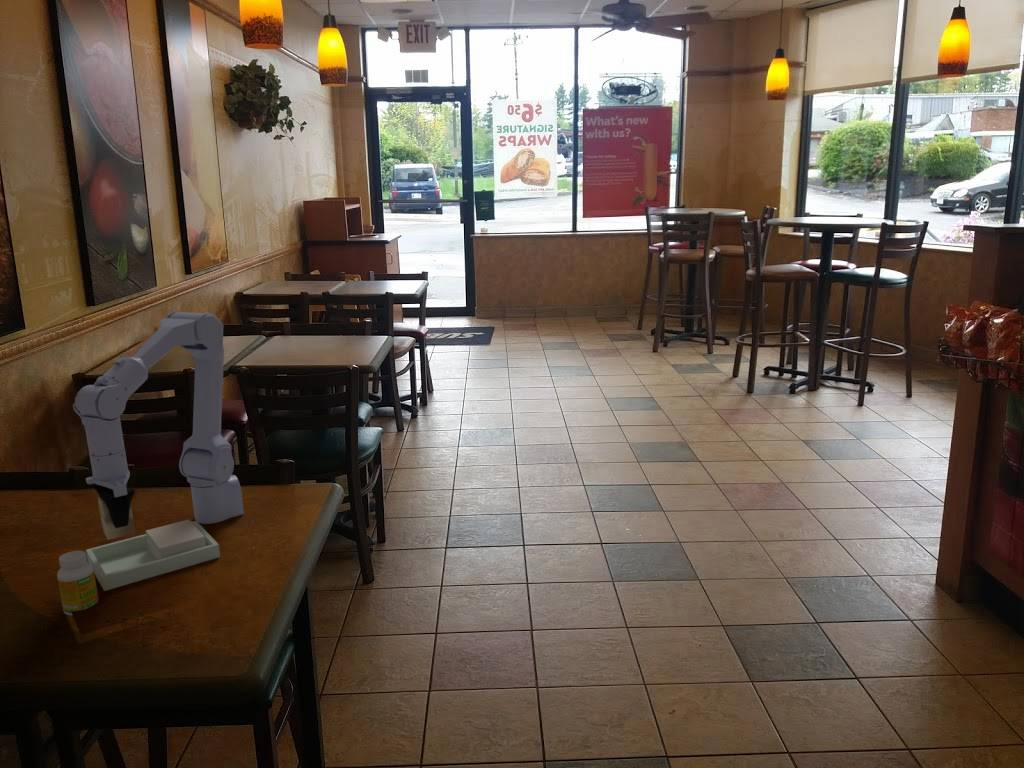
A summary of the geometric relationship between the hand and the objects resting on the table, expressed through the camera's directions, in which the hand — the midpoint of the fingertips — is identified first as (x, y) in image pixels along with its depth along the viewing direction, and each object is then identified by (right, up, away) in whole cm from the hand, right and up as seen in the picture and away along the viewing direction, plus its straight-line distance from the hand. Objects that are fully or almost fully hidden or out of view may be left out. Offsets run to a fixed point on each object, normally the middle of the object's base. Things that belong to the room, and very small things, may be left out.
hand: (118, 521), depth 149 cm
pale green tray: (+5, -9, +4) cm, 11 cm away
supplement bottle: (-1, -13, -11) cm, 17 cm away
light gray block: (+8, -7, +6) cm, 12 cm away
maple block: (0, -2, 0) cm, 2 cm away
